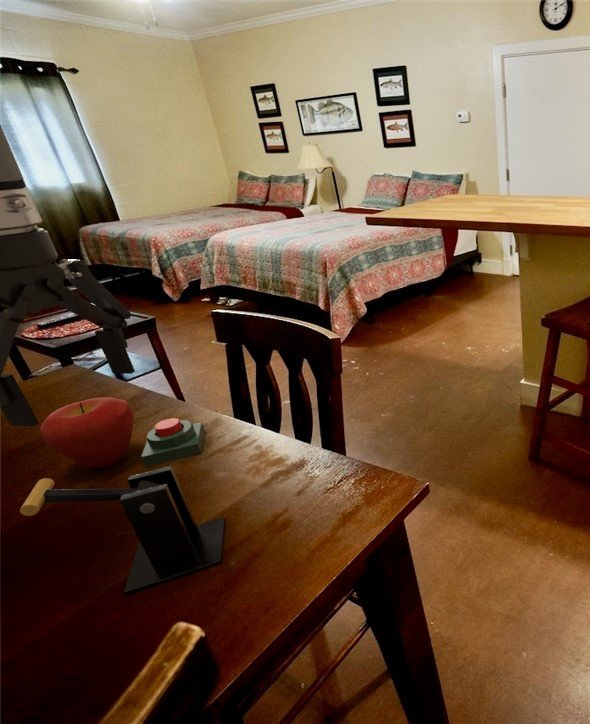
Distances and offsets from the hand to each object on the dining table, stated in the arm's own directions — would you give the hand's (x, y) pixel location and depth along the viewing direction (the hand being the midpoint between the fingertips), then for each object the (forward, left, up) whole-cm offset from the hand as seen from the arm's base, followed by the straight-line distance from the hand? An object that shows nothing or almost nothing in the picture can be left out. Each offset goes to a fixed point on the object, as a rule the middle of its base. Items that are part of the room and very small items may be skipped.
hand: (79, 396), depth 62 cm
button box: (+3, +17, -20) cm, 27 cm away
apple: (-7, +18, -20) cm, 28 cm away
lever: (+2, -13, -9) cm, 16 cm away
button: (+3, +17, -17) cm, 24 cm away
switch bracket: (+7, -13, -20) cm, 25 cm away
